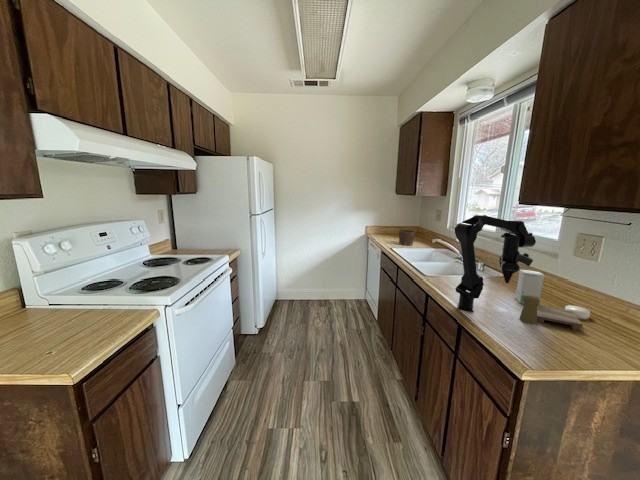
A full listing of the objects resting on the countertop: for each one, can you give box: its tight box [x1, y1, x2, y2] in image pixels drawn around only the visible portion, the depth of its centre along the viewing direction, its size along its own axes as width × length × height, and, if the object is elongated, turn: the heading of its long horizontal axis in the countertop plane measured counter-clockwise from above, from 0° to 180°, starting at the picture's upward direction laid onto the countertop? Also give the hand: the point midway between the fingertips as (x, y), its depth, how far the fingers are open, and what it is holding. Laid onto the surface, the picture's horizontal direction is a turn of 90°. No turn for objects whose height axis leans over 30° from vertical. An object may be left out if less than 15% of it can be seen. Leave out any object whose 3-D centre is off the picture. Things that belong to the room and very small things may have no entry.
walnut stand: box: [537, 304, 584, 332], centre depth 112 cm, size 14×14×3 cm
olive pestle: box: [518, 295, 541, 325], centre depth 110 cm, size 6×6×11 cm
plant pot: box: [398, 229, 417, 247], centre depth 261 cm, size 16×16×16 cm
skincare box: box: [514, 269, 545, 304], centre depth 130 cm, size 8×7×16 cm
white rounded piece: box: [564, 304, 591, 320], centre depth 117 cm, size 8×8×3 cm
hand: (506, 280), depth 123 cm, fingers open, 9 cm apart
